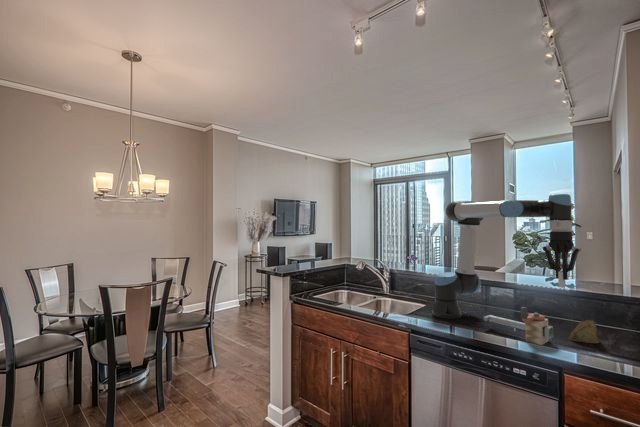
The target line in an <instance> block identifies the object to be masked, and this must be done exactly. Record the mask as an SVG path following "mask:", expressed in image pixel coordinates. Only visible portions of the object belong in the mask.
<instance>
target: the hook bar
mask: <svg viewBox="0 0 640 427" xmlns="http://www.w3.org/2000/svg"><path fill="white" fill-rule="evenodd" d="M483 321H486V322H491V323H495V324H499V325H503V326H507V327H512V328H515V329H519V330H522V331H525V322H523V321H522V322H521V321H517V320H512V319H509V318H504V317H501V316H495V315H493V314H488V315H485V316H483ZM543 335H545V338H547V339H549V340H550V339H553V338H554V336H555V335H554V326H552V325H548V326H547V327H545V328H544V327H543Z"/></svg>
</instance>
